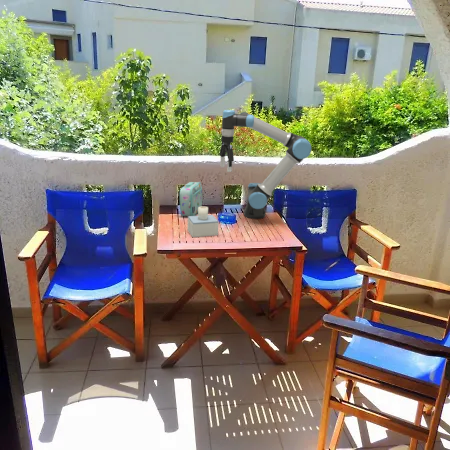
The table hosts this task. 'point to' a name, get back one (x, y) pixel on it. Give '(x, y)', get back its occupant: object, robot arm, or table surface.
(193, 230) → the crate
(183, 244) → the table surface
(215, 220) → the lid
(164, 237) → the table surface
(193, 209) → the lunch box
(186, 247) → the table surface
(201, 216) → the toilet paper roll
